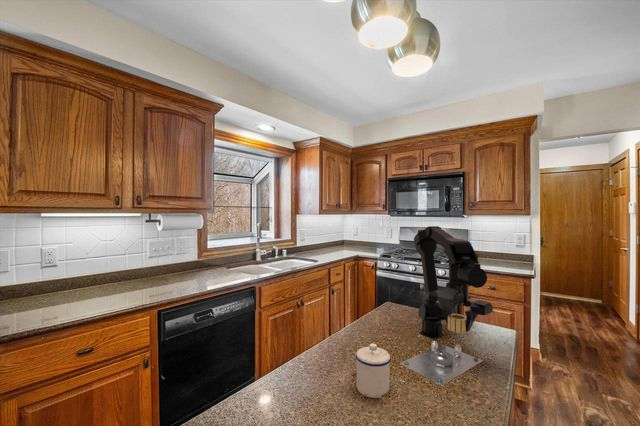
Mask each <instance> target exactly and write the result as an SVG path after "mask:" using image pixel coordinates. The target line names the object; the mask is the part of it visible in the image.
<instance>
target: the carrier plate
mask: <svg viewBox="0 0 640 426" xmlns="http://www.w3.org/2000/svg"><path fill="white" fill-rule="evenodd" d="M430 345H431V348H430V349H427V350H426V351H423V352H420V353H419V354H417V355H414V356H411V357H410V358H408V359H406V360H403V361H401V362H399V365H401V366H403V367H406V368H407V369H409V370H411V371H413V372H414V373H417V374H419V375H421V376H423V377H425V378H427V379H428V380H430V381H432V382H434V383H435V384H438V385H440V386H443V385H446V384H447V383H449V382H450V381H452V380H453V379H455V378H457V377H458V376H461V374H463V373H465V372H467V371H469V370H470V369H471V368H474V367H476V366H477V365H478V364H480V363H482V362H484V359H480V358H478V357H475V356H474V355H470V354H468V353H466V352H463V351H462V347H461V345H460V344H457V343H456V344H455V345H454V348H453V347H451V346H448V345H446V344H442V343H441V344H439V343H438V342H437V340H436V339H434V340H432V341H431V344H430Z"/></svg>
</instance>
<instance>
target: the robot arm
mask: <svg viewBox="0 0 640 426" xmlns="http://www.w3.org/2000/svg"><path fill="white" fill-rule="evenodd" d="M413 243H414V246H415V251H416V252H417V253H418V254H419V255H420V258H421V267H422V274H423V275H422V276H423V283H424V292H425V293H424V295H423V297H422V299H421V306H420V308H419V309H418V310H417V312H418V317H419V318H420V319H421V322H422V323H421V331H419V334H421V335H423V336H425V337H427V338H431V339H434V340H436V339H437V338H440V337H443V336H444V333H443V324H442V321H445V322H446V325H447V326H448V315H449V314H452V310H453V309H454V308H455V307H456V306H457V305H459V306H462V307H466V308H468V310H465V311H464V313H465V316H466V317H467V318H466V331H467V333H468V332H470V331H471V328H472V327H473V325H474V323H475V321H476V318H477V317H478V316H479V315H480V316H487V315H489V314H492V313H494V311H493V310H494V306H493V304H492V303H491V302H489V301H485V300H481V299H477V300H475V301H471V300H470V299H471V295H469V287H473V288H477V289H479V288H482V287H484V286H485V284H487V281H488V275H487V273H486V271H485V270H484V269H482V268H481V264H480V262H479V260H478V259H479V257H478V256H477V253H476V252H475V249H474V246H473V245H472V243H471V242H470V241H469V240H466V239H463V238H457V237H454V236H453V235H452V234H450V233H448V232H447V231H445V230H444V229H442V228H441V227H440V226H439V225H438V226H437V225H436V226H435V225H434V226H433V225H431V226H430V225H428V226H426V227H425V229H423V230H421V231H419V232H417V233H416V234H415V236H414V237H413ZM438 244H439V246H441V247H442V248H443V252H444V254H445V256H447V258H448V259H447V260H446V264H448V281H447V282H446V284H445V288H443V290H440V289H439V285H438V279H437V269H436V263H435V257H434V255H435V252H436V251H437V248H438Z"/></svg>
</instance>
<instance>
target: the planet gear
mask: <svg viewBox="0 0 640 426" xmlns="http://www.w3.org/2000/svg"><path fill="white" fill-rule="evenodd" d="M466 318H467V316H466V315H464V314H459V313H451V314H449V315H448V325H447V329H448V330H449V331H451V332H453V333H456V334H467V333H468V332H467V331H466Z"/></svg>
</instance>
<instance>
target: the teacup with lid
mask: <svg viewBox="0 0 640 426" xmlns="http://www.w3.org/2000/svg"><path fill="white" fill-rule="evenodd" d="M390 362H391V355H390V354H389V352H388V351H387V350H385V349H383V348H380V347H378V346H377V344H376V343H370V344H369V345H368V346H363V347H361V348H359V349H358V350H357V351H356V352H355V354H354V363H355V366H356V382H355V383H356V389H357V391H358V392H359V393H360V394H361V395H363V396H364V397H366V398H367V397H368V398H372V399H380V398H383V396H384V395H386V394H387V393H388V392H389V391H390V382H391V381H390V374H391V373H390V371H391V370H390V369H391V368H390Z"/></svg>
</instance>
